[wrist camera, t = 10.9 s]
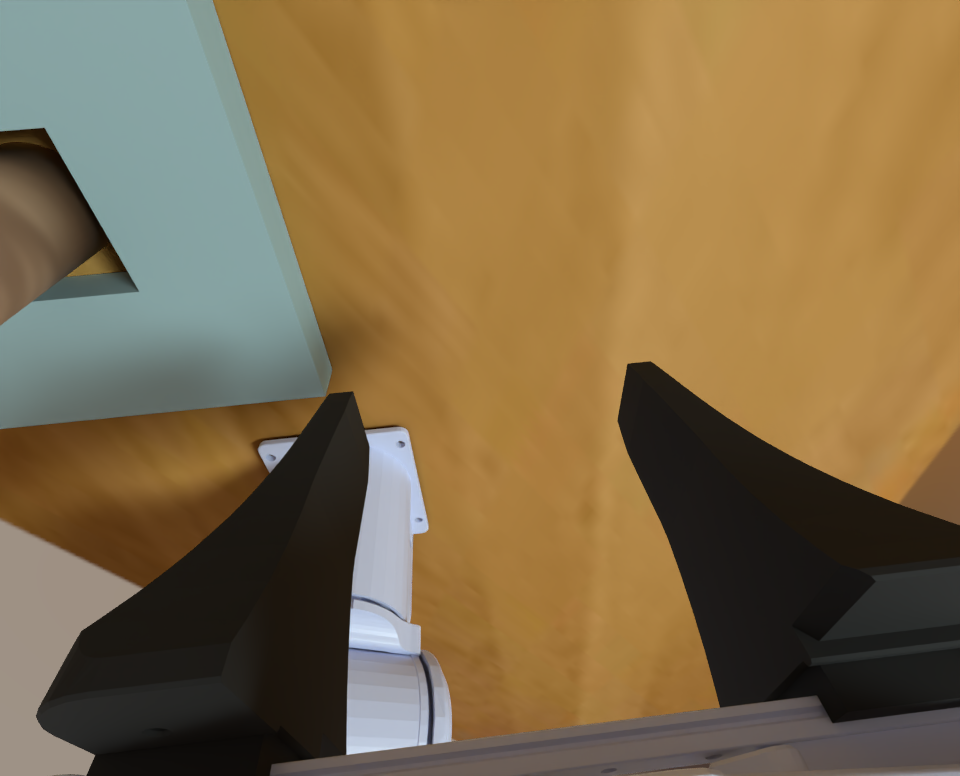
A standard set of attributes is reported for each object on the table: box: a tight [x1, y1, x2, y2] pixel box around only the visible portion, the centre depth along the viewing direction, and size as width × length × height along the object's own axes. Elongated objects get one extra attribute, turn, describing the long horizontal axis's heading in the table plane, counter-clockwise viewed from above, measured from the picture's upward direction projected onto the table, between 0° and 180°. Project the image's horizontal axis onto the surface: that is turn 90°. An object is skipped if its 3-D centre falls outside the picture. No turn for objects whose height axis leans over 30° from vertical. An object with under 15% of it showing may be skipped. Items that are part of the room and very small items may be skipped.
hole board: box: [0, 0, 332, 429], centre depth 16 cm, size 17×16×2 cm
